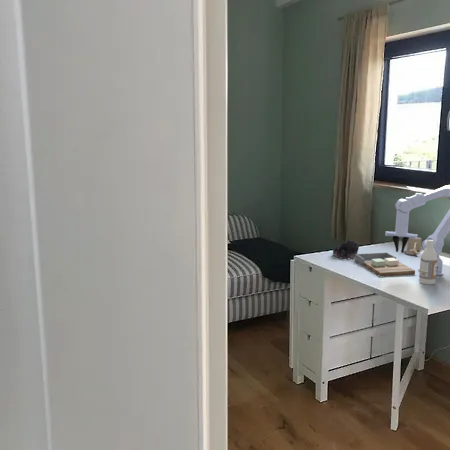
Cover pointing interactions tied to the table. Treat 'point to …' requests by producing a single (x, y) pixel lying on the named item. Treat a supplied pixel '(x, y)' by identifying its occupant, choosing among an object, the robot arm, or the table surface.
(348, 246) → the crystal cluster
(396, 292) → the table surface
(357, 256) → the box
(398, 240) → the robot arm
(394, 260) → the cream tile
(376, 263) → the sage tile
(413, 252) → the decorative sculpture
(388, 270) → the walnut plate
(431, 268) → the bath foam
